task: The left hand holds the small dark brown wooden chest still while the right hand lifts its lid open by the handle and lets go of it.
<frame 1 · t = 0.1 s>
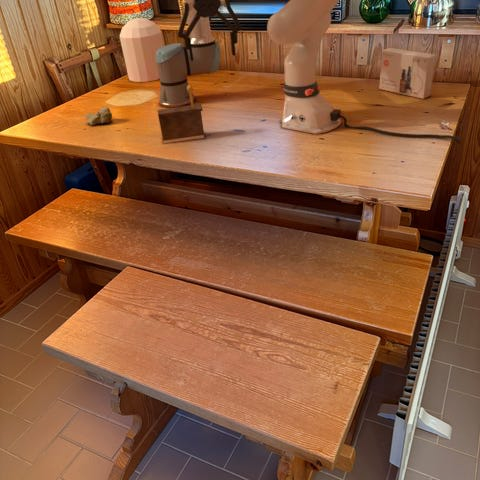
left hand: (212, 57, 149), 28 cm above the table, tool pointing down, fingers open, 13 cm apart
lid: (178, 100, 161), point 14 cm above the table, hinge at 0.0°
skincare box: (403, 93, 189), on the table
rock: (100, 122, 190), on the table
container: (148, 76, 243), on the table
chest: (183, 138, 169), on the table
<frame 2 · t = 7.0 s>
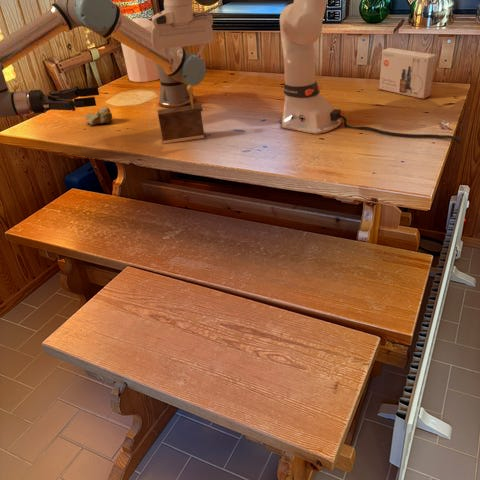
left hand: (97, 95, 155), 19 cm above the table, tool horizontal, fingers open, 13 cm apart
right hand: (185, 60, 154), 27 cm above the table, tool pointing down, fingers open, 8 cm apart
nothing on the table moved.
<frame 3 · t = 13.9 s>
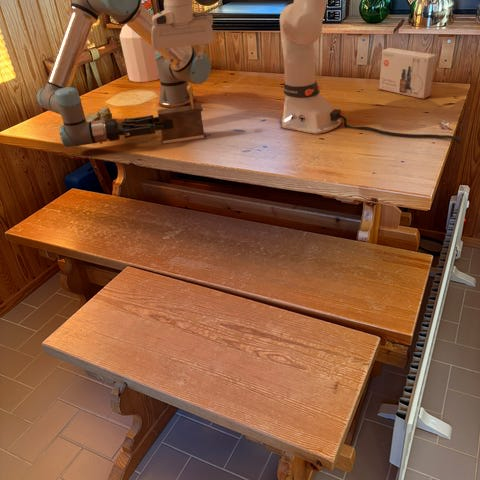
left hand: (172, 121, 164), 7 cm above the table, tool horizontal, fingers closed on chest, 5 cm apart
right hand: (185, 60, 154), 27 cm above the table, tool pointing down, fingers open, 8 cm apart
chest: (183, 138, 169), on the table, touching left hand
everything else where it was.
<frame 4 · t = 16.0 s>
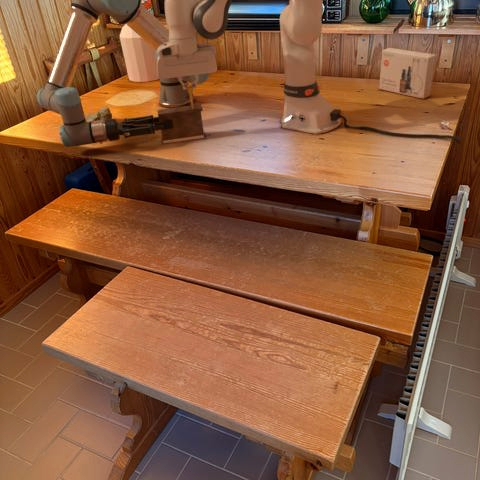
left hand: (172, 121, 164), 7 cm above the table, tool horizontal, fingers closed on chest, 5 cm apart
right hand: (189, 88, 159), 17 cm above the table, tool pointing down, fingers closed on lid, 2 cm apart
lid: (178, 100, 161), point 14 cm above the table, hinge at 0.0°, touching right hand
chest: (183, 138, 169), on the table, touching left hand
everything else where it was.
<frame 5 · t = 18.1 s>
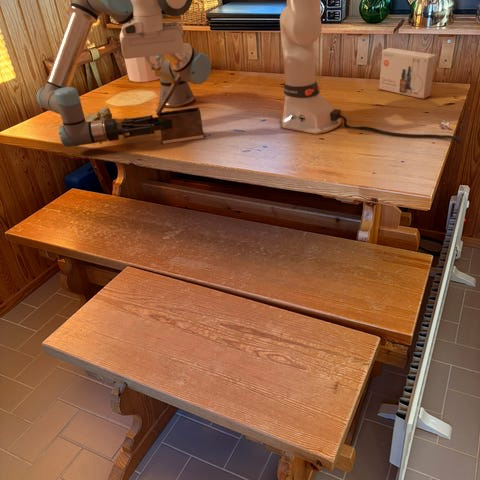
left hand: (171, 121, 164), 7 cm above the table, tool horizontal, fingers closed on chest, 5 cm apart
right hand: (156, 69, 154), 25 cm above the table, tool pointing down, fingers closed, pressing on lid
lid: (159, 88, 157), point 19 cm above the table, hinge at 50.3°, touching right hand
chest: (182, 138, 169), on the table, touching left hand
everything else where it was.
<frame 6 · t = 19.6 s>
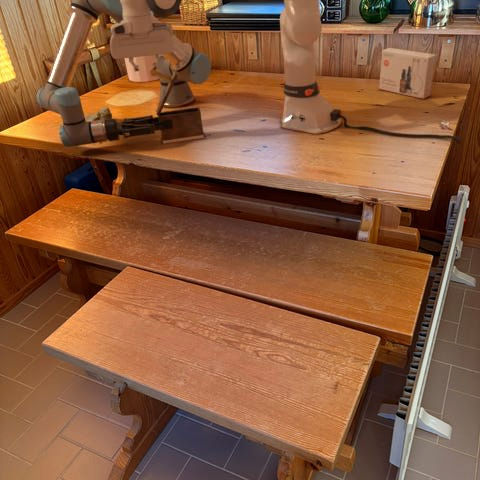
left hand: (172, 121, 164), 7 cm above the table, tool horizontal, fingers closed on chest, 5 cm apart
right hand: (146, 69, 153), 25 cm above the table, tool pointing down, fingers open, 5 cm apart
lid: (156, 88, 157), point 19 cm above the table, hinge at 56.0°, touching right hand
chest: (183, 138, 169), on the table, touching left hand
everything else where it was.
when the left hand's fingers open (7 cm above the table, at t = 23.0 s): chest stays where it is, on the table.
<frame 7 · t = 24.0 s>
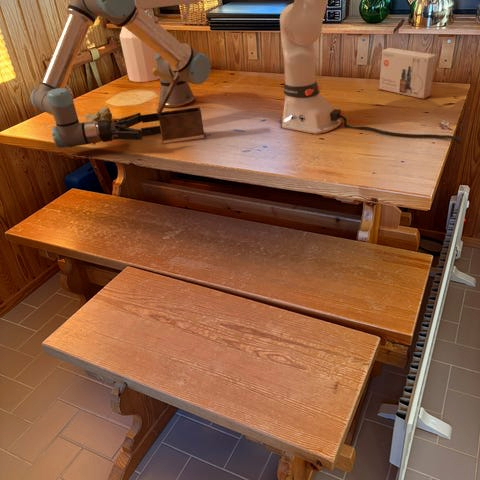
left hand: (160, 122, 164), 7 cm above the table, tool horizontal, fingers open, 13 cm apart
right hand: (171, 21, 147), 39 cm above the table, tool pointing down, fingers open, 8 cm apart
lid: (158, 88, 157), point 19 cm above the table, hinge at 53.5°
chest: (183, 138, 169), on the table
everything else where it was.
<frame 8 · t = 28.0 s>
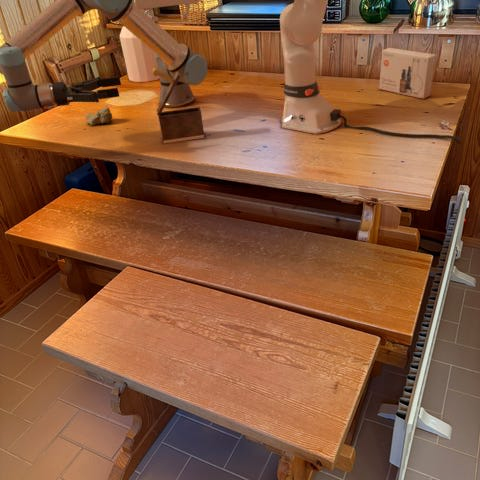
left hand: (119, 86, 155), 21 cm above the table, tool horizontal, fingers open, 13 cm apart
right hand: (171, 21, 147), 39 cm above the table, tool pointing down, fingers open, 8 cm apart
nothing on the table moved.
at the end: lid at +54° (first picture: +0°); the left hand is holding nothing; the right hand is holding nothing; chest tilted 0°; chest never tilted more than 1° during the clip; chest moved 0.1 cm from its start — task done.
